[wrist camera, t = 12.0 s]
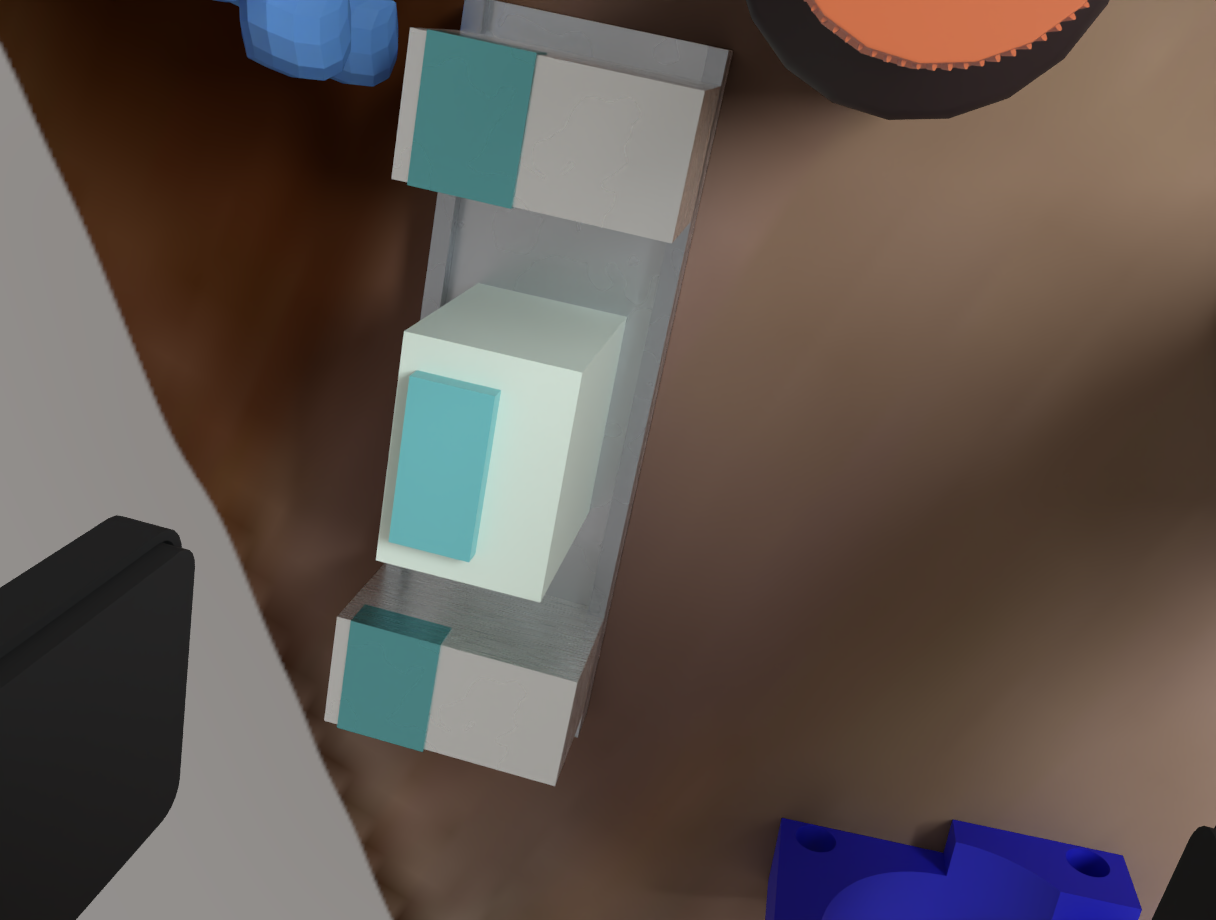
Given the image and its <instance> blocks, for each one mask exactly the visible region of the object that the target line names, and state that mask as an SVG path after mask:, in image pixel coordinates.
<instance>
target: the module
mask: <svg viewBox="0 0 1216 920" xmlns="http://www.w3.org/2000/svg"><path fill="white" fill-rule="evenodd" d="M626 319H627V317H626V316H621V315H617V314H613V313H608V312H604V311H599V310H595V309H591V308H586V307H582V306H577V305H573V304H569V303H564V302H560V301H555V300H551V299H547V298H542V297H538V296H533V295H529V294H525V293H520V292H516V291H511V290H507V289H502V288H498V287H494V286H489V285H485V284H480V283H478V284H476V285H475V286H473V287H472V288H470V289H468V290H467V291H465V292H464V293H462V294H461V295H459V296H458V297H456V298H454V299H453V300H451V301H450V302H448V303H447V304H445V305H444V306H442V307H441V308H439V309H437V310H436V311H434V312H433V313H431V314H430V315H428V316H427V317H425V318H423V319H422V320H420V321H419V322H417V323H416V324H414V325H413V326H411V327H409V328H408V329H406V330H405V331H404V335H403V343H402V351H401V359H400V368H399V376H398V384H397V392H396V400H395V408H394V416H393V424H392V433H391V441H390V449H389V457H388V465H387V473H386V481H385V489H384V497H383V506H382V514H381V522H380V530H379V538H378V546H377V554H376V561H380V562H384V563H388V564H392V565H396V566H400V567H404V568H408V569H411V570H415V571H419V572H423V573H427V574H431V575H435V576H439V577H443V578H446V579H450V580H454V581H458V582H462V583H466V584H470V585H474V586H478V587H481V588H485V589H489V590H493V591H497V592H501V593H505V594H509V595H513V596H516V597H520V598H524V599H528V600H532V601H536V602H541V600H542V598H543V597H544V595H545V593H546V591H547V589H548V587H549V585H550V584H551V582H552V580H553V578H554V576H555V574H556V572H557V571H558V569H559V567H560V565H561V563H562V561H563V560H564V558H565V556H566V554H567V552H568V550H569V548H570V547H571V545H572V543H573V541H574V539H575V537H576V535H577V534H578V532H579V530H580V528H581V526H582V524H583V522H584V521H585V519H586V517H587V515H588V513H589V509H590V504H591V499H592V494H593V488H594V483H595V478H596V473H597V468H598V463H599V458H600V452H601V447H602V442H603V437H604V432H605V427H606V422H607V416H608V411H609V406H610V401H611V396H612V391H613V386H614V380H615V375H616V370H617V365H618V360H619V355H620V349H621V344H622V339H623V334H624V329H625V324H626Z"/></svg>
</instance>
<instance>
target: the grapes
mask: <svg viewBox="0 0 1216 920" xmlns="http://www.w3.org/2000/svg"><path fill="white" fill-rule="evenodd" d="M214 1H221V2H231V3H233V4H235V5H237V6H239V9H240V25H241V31H242V37H243V41H244V45H245V50H246V54H247V57H248V58H249V59H251V60H253V61H255V62H257V63H259V64H261V65H263V66H265V67H267V68H270V69H272V70H275V71H277V72H280V73H282V74H285V75H287V76H290V77H295V78H304V79H313V80H323V81H325V80H327V79H329V78H331V79H333V80H336V81H338V82H341V83H344V84H353V85H362V86H372V87H373V86H375V85H377V84H379V83H381V82H383V81H385V80H386V79H388V78H389V77H390V75H391V72H392V70H393V67H394V65H395V62H396V60H397V52H398V18H397V8H396V2H394V1H393V0H214Z"/></svg>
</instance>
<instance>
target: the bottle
mask: <svg viewBox="0 0 1216 920" xmlns="http://www.w3.org/2000/svg"><path fill="white" fill-rule="evenodd" d="M746 2H747V5H748V8H749V12H750V15H751V18H752V20H753V21H754V23H755V24H756V26H757V27H758V29H759V30H760V32H761V33H762V34H763V36H764V37H765V39H766V40H767V42H768V43H769V45H770V46H771V47H772V49H773V50H774V52H775V53H776V55H777V56H778V58H779V59H780V60H781V62H782V63H783V65H784V66H785V68H787V69H788V70H789V71H791V72H792V73H793V74H795V75H796V76H797V77H799V78H800V79H801V80H803V81H804V82H806V83H807V84H808V85H810V86H811V87H812V88H814V89H815V90H816V91H818V92H819V93H820V94H822V95H823V96H824V97H826V98H827V99H829V100H830V101H831V102H833V103H836V104H839V105H843V106H846V107H849V108H852V109H855V110H859V111H862V112H865V113H868V114H871V115H874V116H878V117H881V118H884V119H887V120H902V119H949V118H952V117H954V116H957V115H960V114H963V113H966V112H969V111H972V110H975V109H978V108H981V107H984V106H987V105H990V104H993V103H996V102H999V101H1001V100H1004V99H1007V98H1009V97H1011V96H1012V95H1014V94H1015V93H1016V92H1018V91H1019V90H1021V89H1022V88H1024V87H1025V86H1026V85H1028V84H1029V83H1031V82H1032V81H1033V80H1035V79H1036V78H1038V77H1039V76H1040V75H1042V74H1043V73H1045V72H1046V71H1047V70H1049V69H1050V68H1052V67H1053V66H1054V65H1056V64H1057V63H1059V62H1060V61H1062V60H1063V59H1064V58H1065V57H1066V56H1067V54H1068V53H1069V52H1070V51H1071V49H1072V48H1073V47H1074V46H1075V44H1076V43H1077V42H1078V41H1079V39H1080V38H1081V37H1082V36H1083V34H1084V33H1085V32H1086V31H1087V29H1088V28H1089V27H1090V26H1091V24H1092V23H1093V22H1094V21H1095V19H1096V18H1097V17H1098V16H1099V14H1100V13H1101V12H1102V11H1103V9H1104V8H1105V7H1106V6H1107V4H1108V2H1109V0H746Z"/></svg>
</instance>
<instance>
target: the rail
mask: <svg viewBox="0 0 1216 920" xmlns="http://www.w3.org/2000/svg"><path fill="white" fill-rule="evenodd" d="M732 54H733V50H728V49H724V48H719V47H714V46H710V45H705V44H700V43H695V42H691V41H686V40H681V39H676V38H672V37H667V36H662V35H658V34H653V33H648V32H643V31H639V30H634V29H629V28H624V27H620V26H615V25H610V24H606V23H601V22H596V21H591V20H587V19H582V18H577V17H572V16H568V15H563V14H558V13H553V12H549V11H544V10H539V9H535V8H530V7H525V6H520V5H516V4H511V3H506V2H501V1H497V0H465V1H464V8H463V15H462V22H461V29H460V30H449V29H431V28H413V27H410V32H409V41H408V49H407V57H406V65H405V73H404V81H403V89H402V97H401V105H400V113H399V121H398V129H397V137H396V145H395V153H394V161H393V170H392V178H391V179H394V180H399V181H403V182H407V185H409V186H414V187H418V188H422V189H427V190H431V191H435V192H438V195H437V202H436V209H435V216H434V224H433V231H432V238H431V245H430V252H429V260H428V267H427V274H426V281H425V288H424V296H423V303H422V310H421V317H420V320H422V319H423V318H425V317H427V316H428V315H430V314H431V313H433V312H434V311H436V310H437V309H439V308H441V307H442V306H444V305H445V304H447V303H448V302H450V301H451V300H453V299H454V298H456V297H458V296H459V295H461V294H462V293H464V292H465V291H467V290H468V289H470V288H472V287H473V286H475V285H476V284H478V283H480V284H485V285H489V286H494V287H498V288H502V289H507V290H511V291H516V292H520V293H525V294H529V295H533V296H538V297H542V298H547V299H551V300H555V301H560V302H564V303H569V304H573V305H577V306H582V307H586V308H591V309H595V310H599V311H604V312H608V313H613V314H617V315H621V316H626V317H627V319H626V324H625V329H624V334H623V339H622V344H621V349H620V355H619V360H618V365H617V370H616V375H615V380H614V386H613V391H612V396H611V401H610V406H609V411H608V416H607V422H606V427H605V432H604V437H603V442H602V447H601V452H600V458H599V463H598V468H597V473H596V478H595V483H594V488H593V494H592V499H591V504H590V509H589V513H588V515H587V517H586V519H585V521H584V522H583V524H582V526H581V528H580V530H579V532H578V534H577V535H576V537H575V539H574V541H573V543H572V545H571V547H570V548H569V550H568V552H567V554H566V556H565V558H564V560H563V561H562V563H561V565H560V567H559V569H558V571H557V572H556V574H555V576H554V578H553V580H552V582H551V584H550V585H549V587H548V589H547V591H546V593H545V595H544V597H543V598H542V600H541V602H536V601H532V600H528V599H524V598H520V597H516V596H513V595H509V594H505V593H501V592H497V591H493V590H489V589H485V588H481V587H478V586H474V585H470V584H466V583H462V582H458V581H454V580H450V579H446V578H443V577H439V576H435V575H431V574H427V573H423V572H419V571H415V570H411V569H408V568H404V567H400V566H396V565H392V564H388V563H384V564H383V565H382V566H381V568H380V569H379V570H378V571H377V572H376V573H375V574H374V575H373V577H372V578H371V579H370V580H369V581H368V582H367V583H366V584H365V586H364V587H363V588H362V589H361V590H360V591H359V592H358V593H357V595H356V596H355V597H354V598H353V599H352V600H351V601H350V603H349V604H348V605H347V606H346V607H345V608H344V609H343V610H342V612H341V613H340V614H339V615H338V616H337V621H336V629H335V637H334V645H333V653H332V661H331V669H330V677H329V685H328V694H327V702H326V710H325V718H324V721H327V722H331V723H334V724H337V728H340V729H344V730H347V731H351V732H354V733H358V734H361V735H365V736H368V737H372V738H375V739H379V740H382V741H386V742H389V743H393V744H396V745H400V746H403V747H407V748H410V749H414V750H417V751H421V752H423V751H424V749H426V750H429V751H433V752H436V753H440V754H443V755H447V756H450V757H454V758H457V759H461V760H464V761H468V762H471V763H475V764H478V765H482V766H485V767H489V768H492V769H496V770H499V771H503V772H506V773H510V774H513V775H517V776H520V777H524V778H527V779H531V780H534V781H538V782H541V783H545V784H548V785H552V786H555V785H556V783H557V780H558V777H559V775H560V772H561V770H562V767H563V764H564V762H565V759H566V757H567V754H568V751H569V749H570V746H571V744H572V741H573V738H574V737H577V738H578V735H579V733H580V730H581V727H582V725H583V722H584V719H585V717H586V714H587V710H588V705H589V701H590V696H591V692H592V687H593V682H594V678H595V673H596V669H597V664H598V660H599V655H600V651H601V646H602V642H603V637H604V633H605V628H606V624H607V619H608V615H609V610H610V606H611V601H612V597H613V592H614V588H615V583H616V579H617V574H618V570H619V565H620V560H621V556H622V551H623V547H624V542H625V538H626V533H627V529H628V524H629V520H630V515H631V511H632V506H633V502H634V497H635V493H636V488H637V484H638V479H639V475H640V470H641V466H642V461H643V457H644V452H645V447H646V443H647V438H648V434H649V429H650V425H651V420H652V416H653V411H654V407H655V402H656V398H657V393H658V389H659V384H660V380H661V375H662V371H663V366H664V362H665V357H666V353H667V348H668V344H669V339H670V335H671V330H672V325H673V321H674V316H675V312H676V307H677V303H678V298H679V294H680V289H681V285H682V280H683V276H684V271H685V267H686V262H687V258H688V253H689V249H690V244H691V240H692V235H693V231H694V226H695V222H696V217H697V212H698V208H699V203H700V199H701V194H702V190H703V185H704V181H705V176H706V172H707V167H708V163H709V158H710V154H711V149H712V145H713V140H714V136H715V131H716V127H717V122H718V118H719V113H720V109H721V104H722V99H723V95H724V90H725V86H726V81H727V77H728V72H729V68H730V63H731V59H732Z"/></svg>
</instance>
